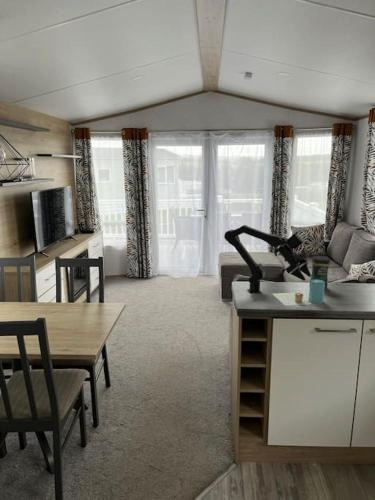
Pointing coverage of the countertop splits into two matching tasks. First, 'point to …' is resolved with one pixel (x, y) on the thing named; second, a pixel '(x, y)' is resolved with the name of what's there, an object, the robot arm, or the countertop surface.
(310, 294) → the teal rounded cylinder
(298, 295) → the terracotta pot
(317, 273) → the coffee jar
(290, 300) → the sage mat
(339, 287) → the countertop surface
